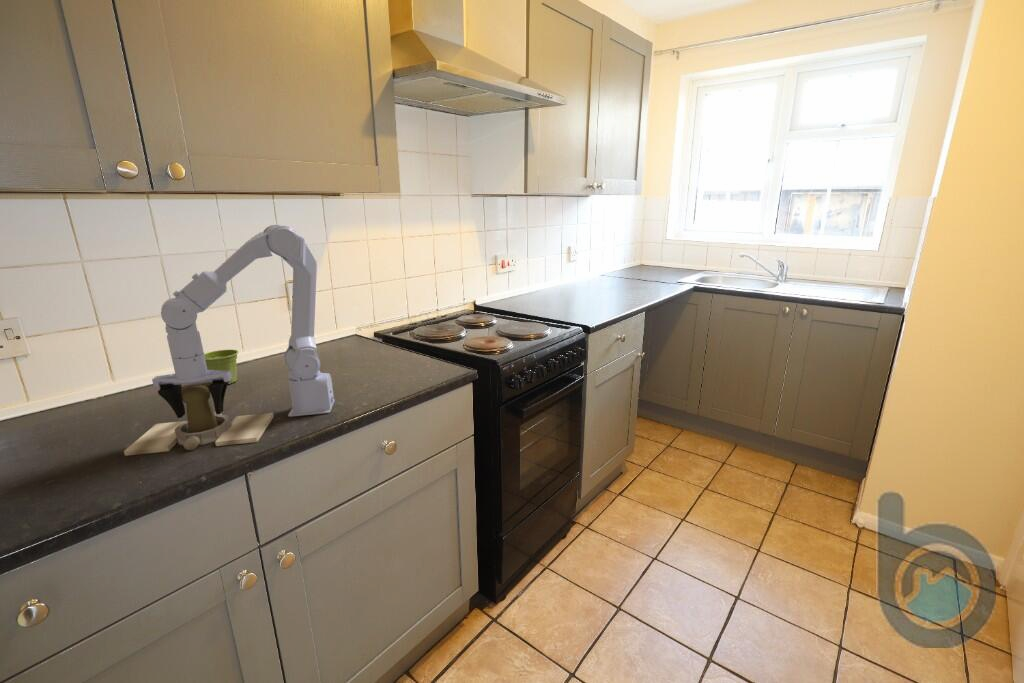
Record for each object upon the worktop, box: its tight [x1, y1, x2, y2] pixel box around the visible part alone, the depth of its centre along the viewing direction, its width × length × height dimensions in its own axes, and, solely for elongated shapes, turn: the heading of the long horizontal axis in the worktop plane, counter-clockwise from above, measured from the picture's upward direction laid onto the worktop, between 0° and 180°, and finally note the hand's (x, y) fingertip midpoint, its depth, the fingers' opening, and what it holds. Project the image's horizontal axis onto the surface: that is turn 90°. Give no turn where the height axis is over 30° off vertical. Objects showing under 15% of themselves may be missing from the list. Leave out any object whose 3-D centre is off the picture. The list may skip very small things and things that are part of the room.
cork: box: [182, 384, 219, 433], centre depth 105 cm, size 6×6×11 cm
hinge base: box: [123, 411, 275, 457], centre depth 105 cm, size 25×14×2 cm, turn 101°
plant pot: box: [204, 349, 239, 385], centre depth 136 cm, size 9×9×9 cm
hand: (200, 414), depth 104 cm, fingers open, 7 cm apart
